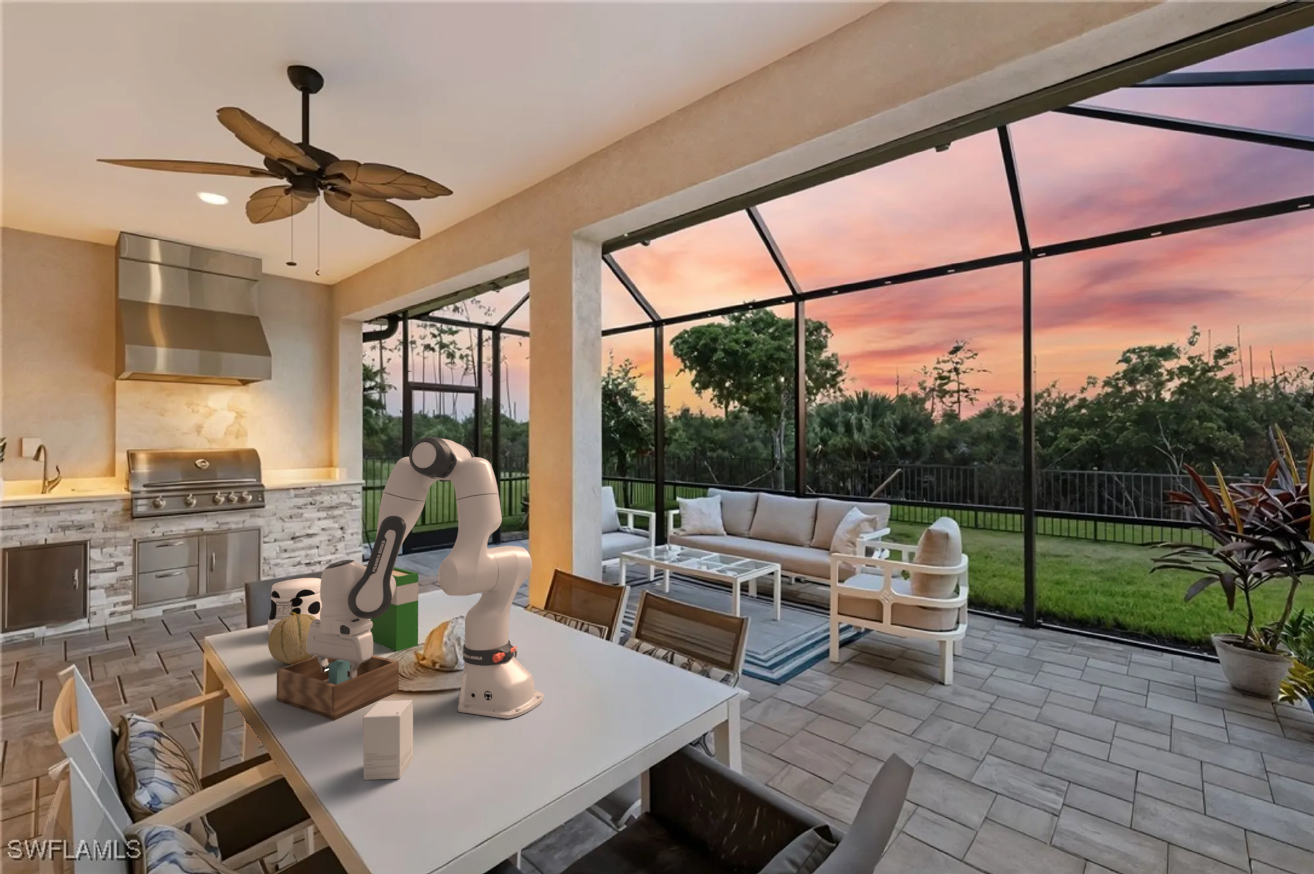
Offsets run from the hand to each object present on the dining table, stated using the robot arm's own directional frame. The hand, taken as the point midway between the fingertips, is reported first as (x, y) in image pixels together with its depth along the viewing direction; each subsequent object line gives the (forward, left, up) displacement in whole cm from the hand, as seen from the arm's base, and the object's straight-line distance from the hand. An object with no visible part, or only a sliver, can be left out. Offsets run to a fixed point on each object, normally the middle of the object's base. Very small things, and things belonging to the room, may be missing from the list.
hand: (338, 674), depth 149 cm
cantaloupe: (+34, -9, -6) cm, 36 cm away
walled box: (0, 0, -6) cm, 6 cm away
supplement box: (-42, +17, -6) cm, 46 cm away
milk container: (+61, -25, -6) cm, 66 cm away
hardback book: (+22, -34, -6) cm, 41 cm away
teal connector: (0, 0, -5) cm, 5 cm away
